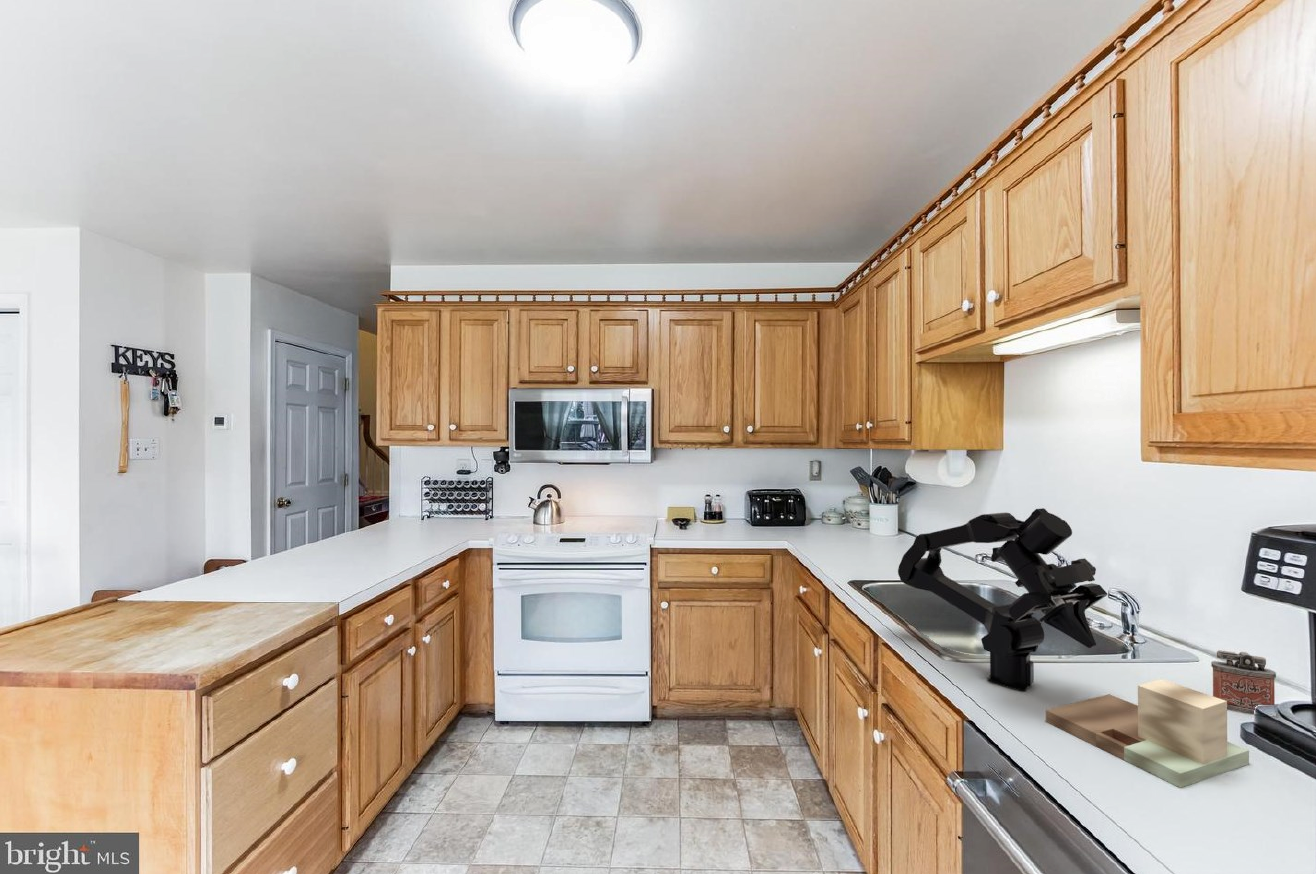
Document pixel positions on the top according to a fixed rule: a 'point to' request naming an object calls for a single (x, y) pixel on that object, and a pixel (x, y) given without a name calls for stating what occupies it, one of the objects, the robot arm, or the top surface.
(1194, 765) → the board
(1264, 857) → the top surface
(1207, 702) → the maple block
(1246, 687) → the lighter
